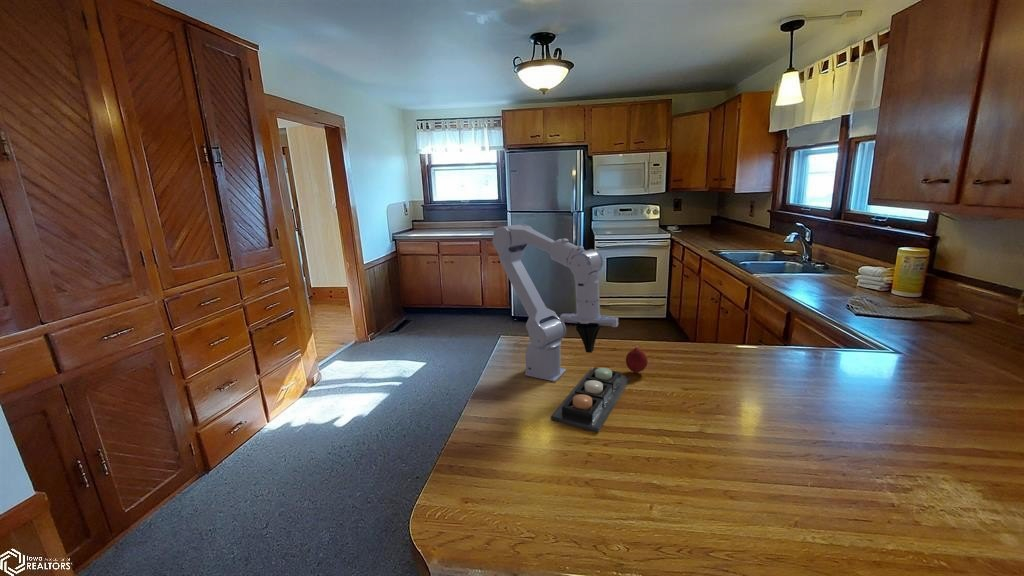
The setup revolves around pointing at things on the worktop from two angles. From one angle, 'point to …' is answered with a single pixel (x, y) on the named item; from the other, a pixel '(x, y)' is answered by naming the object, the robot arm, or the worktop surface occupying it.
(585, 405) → the button terracotta
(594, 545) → the worktop surface
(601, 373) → the button sage
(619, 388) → the tray
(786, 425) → the worktop surface
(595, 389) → the button cream
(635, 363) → the onion
